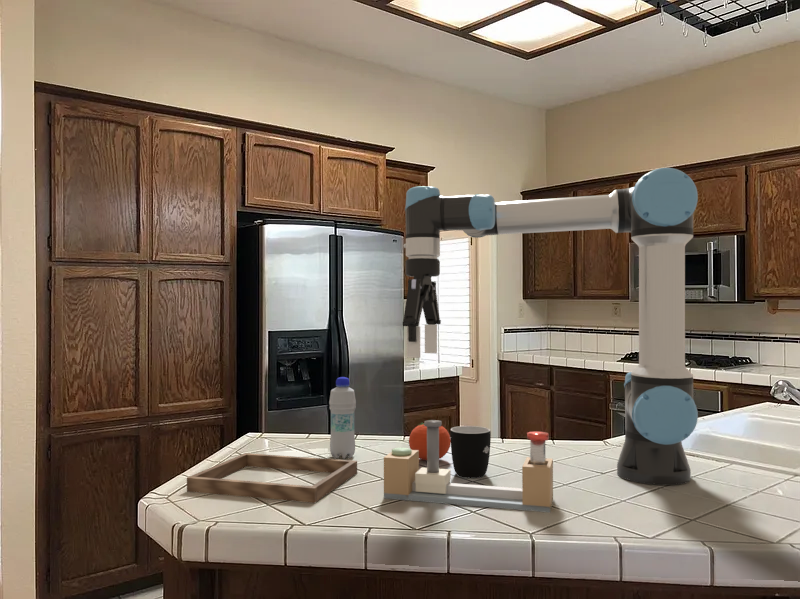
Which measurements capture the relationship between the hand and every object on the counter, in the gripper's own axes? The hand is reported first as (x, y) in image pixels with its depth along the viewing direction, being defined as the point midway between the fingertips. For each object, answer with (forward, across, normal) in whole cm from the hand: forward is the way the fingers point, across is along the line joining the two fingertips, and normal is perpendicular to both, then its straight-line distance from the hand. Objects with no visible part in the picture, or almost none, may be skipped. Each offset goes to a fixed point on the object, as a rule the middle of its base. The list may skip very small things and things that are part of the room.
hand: (422, 355), depth 145 cm
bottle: (+27, -14, -25) cm, 40 cm away
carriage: (+26, +12, +6) cm, 29 cm away
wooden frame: (+27, +12, -29) cm, 42 cm away
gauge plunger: (+22, +12, +26) cm, 36 cm away
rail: (+27, +12, +13) cm, 32 cm away
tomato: (+27, -17, -3) cm, 32 cm away
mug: (+27, -8, +9) cm, 30 cm away
